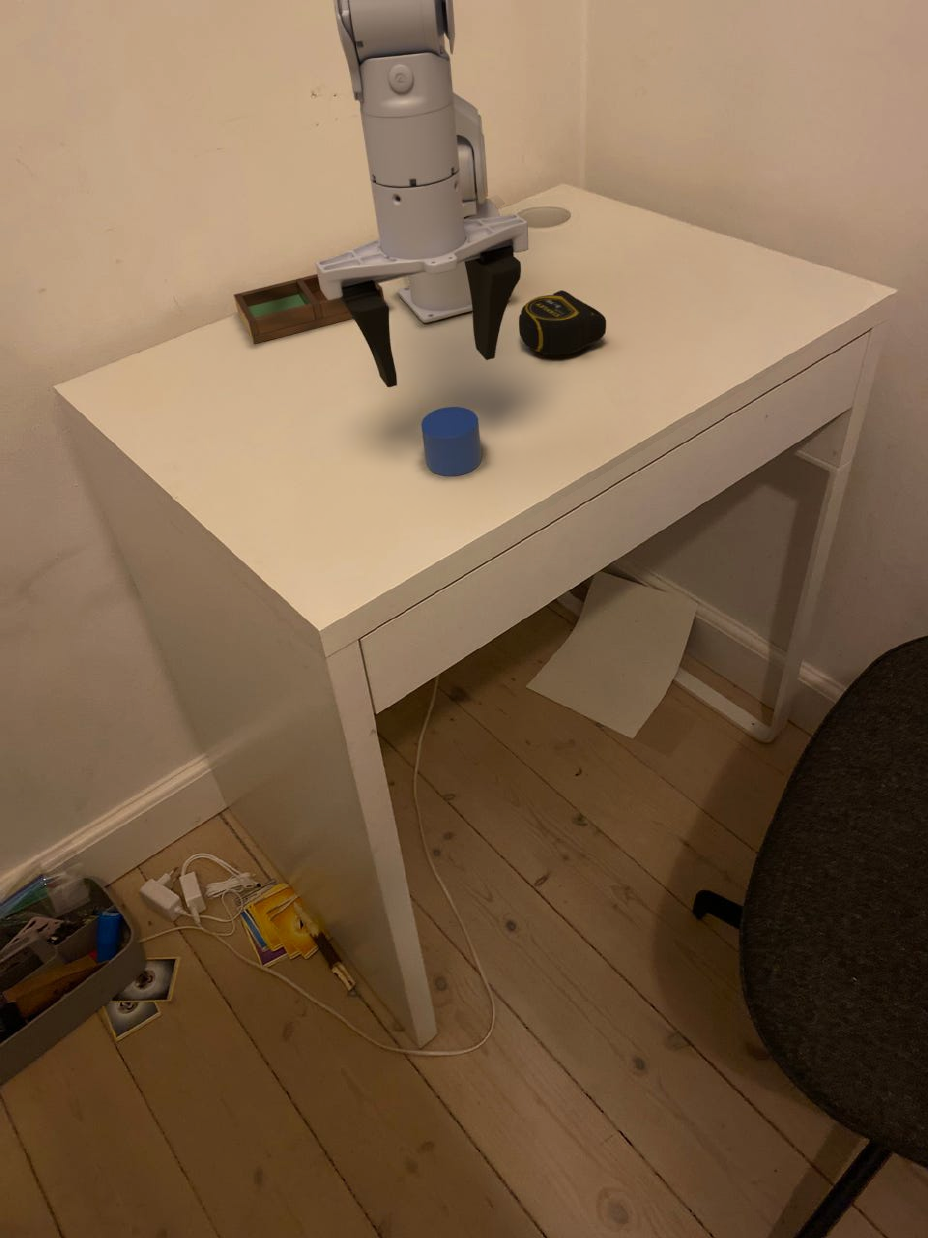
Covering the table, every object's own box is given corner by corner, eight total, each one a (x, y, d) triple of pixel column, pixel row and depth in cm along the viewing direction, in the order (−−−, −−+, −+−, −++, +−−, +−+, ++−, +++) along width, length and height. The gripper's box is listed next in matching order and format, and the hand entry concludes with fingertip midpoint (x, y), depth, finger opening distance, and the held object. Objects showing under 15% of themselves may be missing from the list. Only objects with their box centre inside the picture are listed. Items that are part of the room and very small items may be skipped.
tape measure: (609, 348, 84) (610, 309, 82) (545, 371, 82) (544, 331, 80) (568, 320, 89) (568, 282, 86) (506, 341, 87) (504, 303, 84)
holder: (364, 283, 99) (360, 262, 97) (385, 309, 94) (382, 287, 92) (239, 315, 96) (233, 294, 94) (254, 344, 91) (248, 322, 89)
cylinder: (468, 438, 76) (465, 400, 73) (490, 466, 72) (487, 427, 70) (418, 454, 75) (413, 416, 72) (438, 482, 72) (432, 443, 69)
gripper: (322, 217, 55) (360, 418, 64) (545, 165, 58) (550, 364, 67) (292, 182, 59) (331, 374, 69) (500, 136, 63) (510, 325, 72)
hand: (437, 366), depth 68 cm, fingers open, 7 cm apart
